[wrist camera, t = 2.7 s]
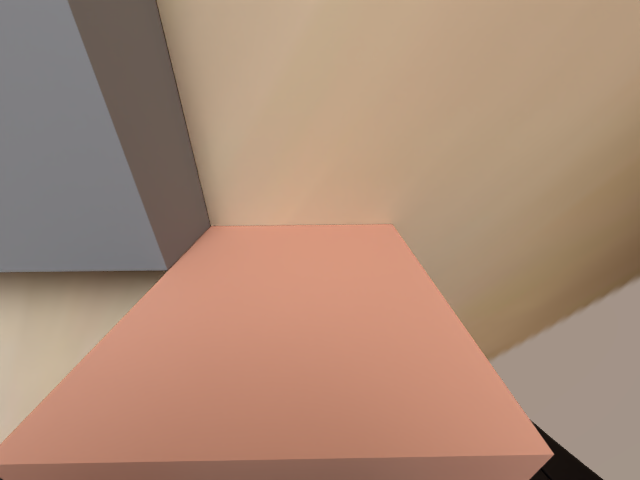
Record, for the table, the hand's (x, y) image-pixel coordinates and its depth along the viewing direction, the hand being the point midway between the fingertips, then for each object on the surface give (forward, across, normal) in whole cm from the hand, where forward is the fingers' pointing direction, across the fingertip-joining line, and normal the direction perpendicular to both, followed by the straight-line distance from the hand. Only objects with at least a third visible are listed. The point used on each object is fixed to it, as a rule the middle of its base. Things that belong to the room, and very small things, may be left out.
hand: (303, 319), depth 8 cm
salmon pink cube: (+1, 0, 0) cm, 1 cm away
